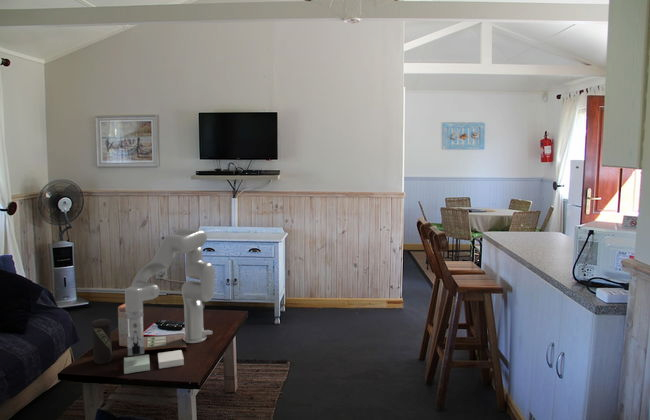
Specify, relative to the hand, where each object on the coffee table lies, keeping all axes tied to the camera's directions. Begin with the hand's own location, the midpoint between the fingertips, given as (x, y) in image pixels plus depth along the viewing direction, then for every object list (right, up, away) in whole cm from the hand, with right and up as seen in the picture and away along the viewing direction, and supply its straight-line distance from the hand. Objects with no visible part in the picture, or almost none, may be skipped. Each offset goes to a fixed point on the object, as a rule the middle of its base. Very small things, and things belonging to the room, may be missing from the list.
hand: (136, 351), depth 231 cm
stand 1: (0, -8, +1) cm, 8 cm away
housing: (0, -1, 0) cm, 1 cm away
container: (-19, -7, +8) cm, 21 cm away
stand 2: (+14, -7, +7) cm, 17 cm away
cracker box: (-14, -4, +31) cm, 34 cm away
